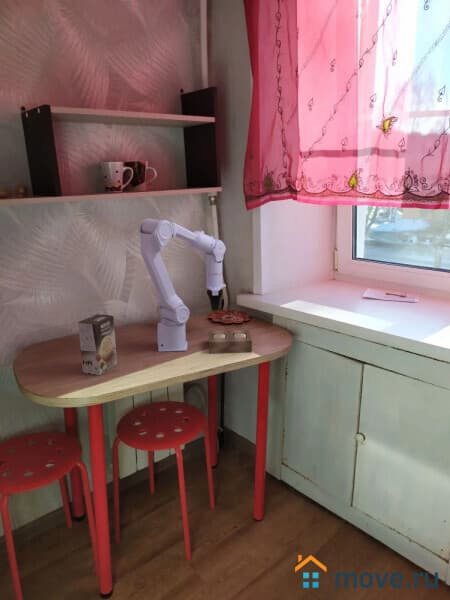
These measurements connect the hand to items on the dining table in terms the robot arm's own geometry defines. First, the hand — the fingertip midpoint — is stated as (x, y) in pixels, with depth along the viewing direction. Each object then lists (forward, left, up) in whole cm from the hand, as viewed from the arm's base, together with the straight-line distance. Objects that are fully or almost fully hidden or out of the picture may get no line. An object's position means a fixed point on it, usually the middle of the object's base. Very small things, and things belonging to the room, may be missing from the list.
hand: (215, 309), depth 168 cm
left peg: (+1, -13, -9) cm, 16 cm away
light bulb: (-19, +10, -10) cm, 24 cm away
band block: (+5, -13, -9) cm, 17 cm away
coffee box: (-36, -28, -10) cm, 47 cm away
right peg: (+8, -13, -9) cm, 18 cm away
